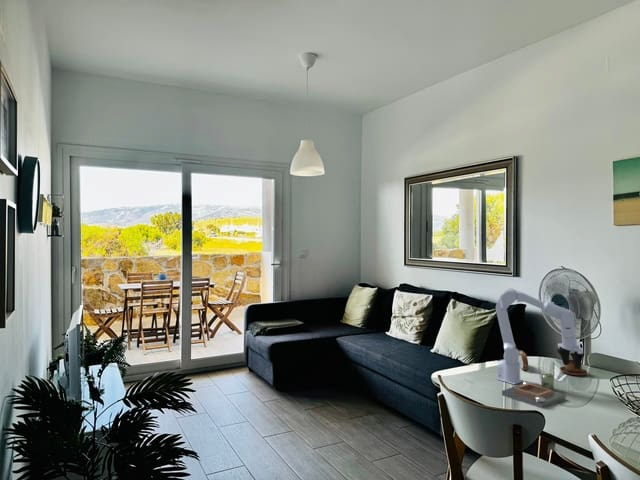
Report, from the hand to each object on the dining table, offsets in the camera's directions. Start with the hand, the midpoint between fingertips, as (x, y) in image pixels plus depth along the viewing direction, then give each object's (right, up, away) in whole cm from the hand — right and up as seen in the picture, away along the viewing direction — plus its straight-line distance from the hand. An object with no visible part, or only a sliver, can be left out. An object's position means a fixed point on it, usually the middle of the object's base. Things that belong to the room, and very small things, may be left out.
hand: (571, 366), depth 200 cm
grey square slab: (-22, -10, -10) cm, 26 cm away
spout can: (-11, -11, 0) cm, 15 cm away
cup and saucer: (+15, -11, +25) cm, 31 cm away
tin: (-7, -11, +34) cm, 36 cm away
